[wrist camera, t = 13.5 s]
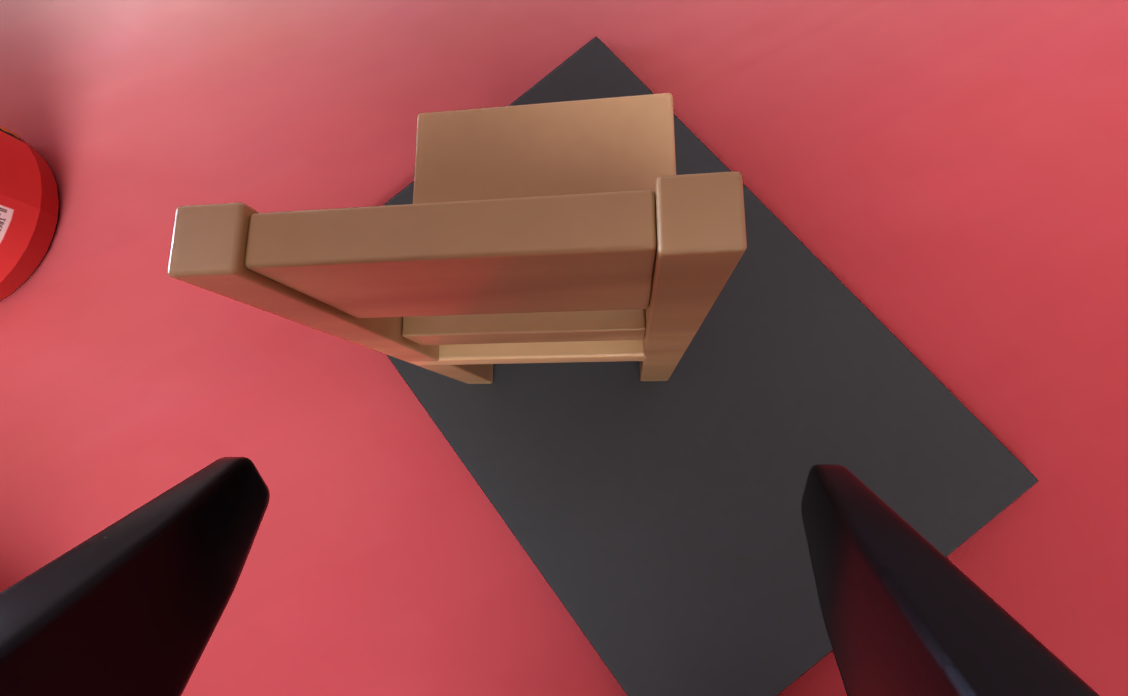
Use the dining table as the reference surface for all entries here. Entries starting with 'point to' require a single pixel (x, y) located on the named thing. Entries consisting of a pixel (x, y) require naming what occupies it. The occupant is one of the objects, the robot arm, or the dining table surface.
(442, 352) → the toy chair
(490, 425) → the mat
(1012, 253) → the dining table surface
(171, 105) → the dining table surface
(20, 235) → the canned food
